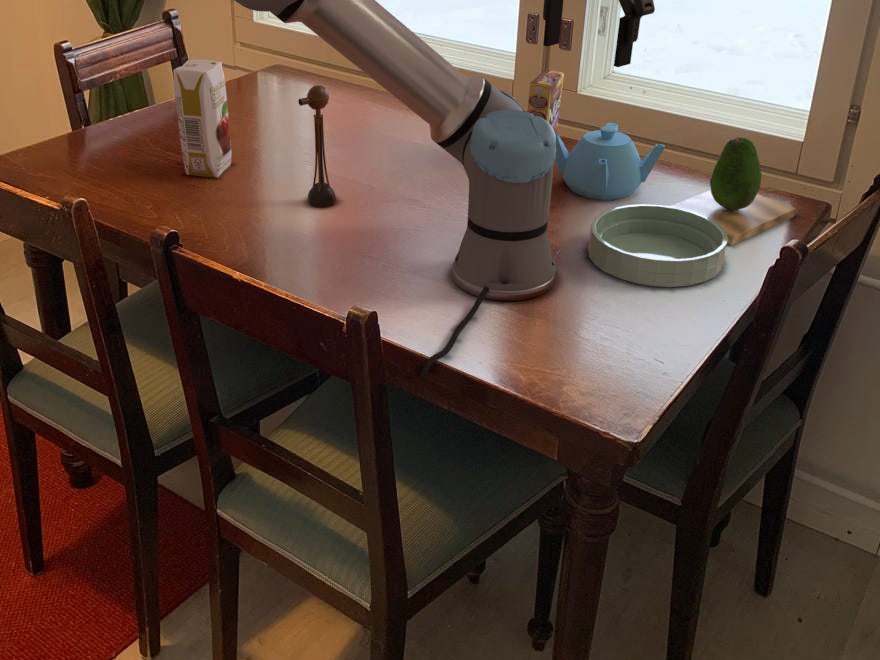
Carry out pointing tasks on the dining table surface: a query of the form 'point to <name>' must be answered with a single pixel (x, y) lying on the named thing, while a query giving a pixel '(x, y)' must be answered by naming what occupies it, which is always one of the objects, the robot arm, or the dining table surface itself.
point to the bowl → (657, 245)
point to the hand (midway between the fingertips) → (585, 54)
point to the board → (740, 215)
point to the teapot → (604, 164)
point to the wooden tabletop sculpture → (319, 150)
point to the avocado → (736, 175)
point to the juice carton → (203, 117)
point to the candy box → (546, 97)
